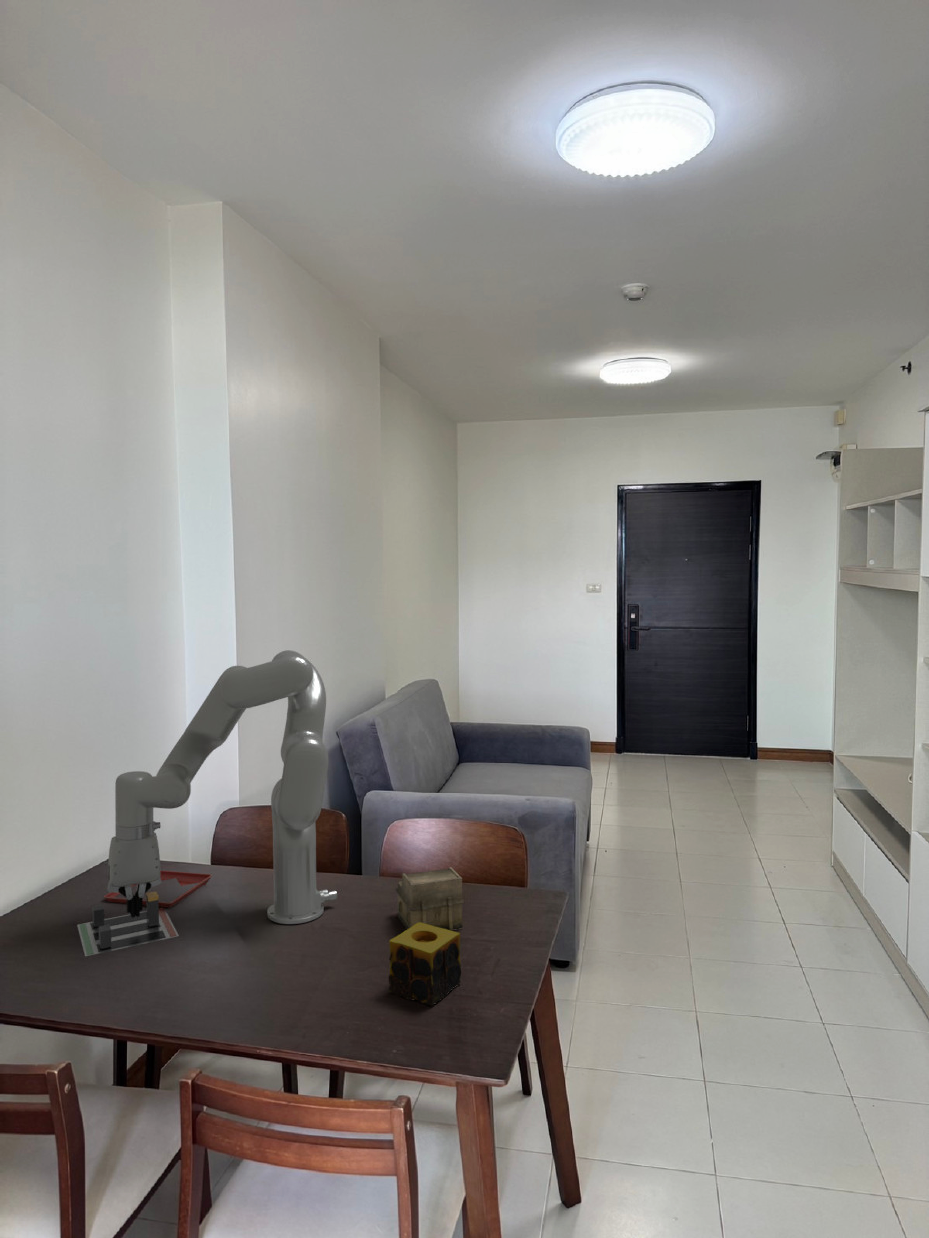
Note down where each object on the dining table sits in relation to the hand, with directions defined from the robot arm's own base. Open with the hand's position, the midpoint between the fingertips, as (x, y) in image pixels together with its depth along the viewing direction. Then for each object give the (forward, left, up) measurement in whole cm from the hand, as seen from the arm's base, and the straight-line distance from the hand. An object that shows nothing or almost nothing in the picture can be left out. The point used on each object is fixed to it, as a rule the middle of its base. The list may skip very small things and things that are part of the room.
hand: (134, 914), depth 177 cm
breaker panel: (+2, 0, -5) cm, 5 cm away
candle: (-43, +52, -5) cm, 68 cm away
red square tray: (-8, -19, -5) cm, 22 cm away
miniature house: (-58, +27, -5) cm, 64 cm away
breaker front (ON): (+7, +6, -3) cm, 9 cm away
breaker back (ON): (+7, -6, -3) cm, 9 cm away
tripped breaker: (-4, 0, -3) cm, 5 cm away
